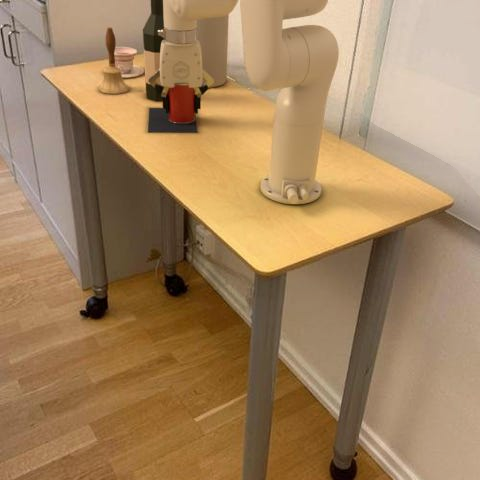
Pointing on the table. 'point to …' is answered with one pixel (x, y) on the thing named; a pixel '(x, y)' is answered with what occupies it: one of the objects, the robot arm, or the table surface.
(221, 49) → the cylinder vase
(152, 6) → the wine bottle
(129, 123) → the table surface
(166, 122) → the placemat
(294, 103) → the robot arm
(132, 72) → the teacup
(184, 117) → the tin can
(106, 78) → the hand bell
